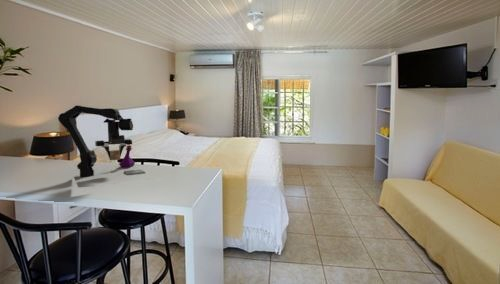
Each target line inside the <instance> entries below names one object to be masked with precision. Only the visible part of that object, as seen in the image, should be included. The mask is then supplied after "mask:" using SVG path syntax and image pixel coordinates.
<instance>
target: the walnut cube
mask: <svg viewBox="0 0 500 284" xmlns="http://www.w3.org/2000/svg"><path fill="white" fill-rule="evenodd" d="M109 151H110V158H109V157H108V159H109V160H110V161H120V160H121V157H120V151H119V149H118V150H117V149H115V150H114V149H113V150H109Z"/></svg>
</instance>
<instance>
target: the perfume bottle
mask: <svg viewBox="0 0 500 284" xmlns="http://www.w3.org/2000/svg"><path fill="white" fill-rule="evenodd" d="M125 150H126V153H125V154H124V155H125V156H124V157H123V159H122V160H121V161H120V162H119V163H118V165H119V166H120V167H121V168H127V169H129V168H131V167H134V165H135V164H136V162H135V161H134V160H133V158H131V157H130V152H131V151H132V150H133V148H132V145H126V148H125Z"/></svg>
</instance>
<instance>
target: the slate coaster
mask: <svg viewBox="0 0 500 284" xmlns="http://www.w3.org/2000/svg"><path fill="white" fill-rule="evenodd" d="M123 173H124V174H125V175H127V176H131V175H132V176H133V175H141V174H146V171H145V170H143V169H131V170H124V171H123Z"/></svg>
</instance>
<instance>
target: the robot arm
mask: <svg viewBox="0 0 500 284" xmlns="http://www.w3.org/2000/svg"><path fill="white" fill-rule="evenodd" d="M81 114H87V115H88V114H89V115H94V116H95V115H97V116H101V117H104V118H106V119H105V120H104V121H103V123H104V124H105V123H106V124H107V135H108V137H107V138H108V141H104V140H96V141H95V143H94V146H95V147H101V148H104V150H105V152H106V153H107V156H108V159H109V158H110V151H111V150H110V146H109V145H118V150H119V151H120V158H121V156H122V152H123V151H124V148H125V147H127V146H131V145H133V140H132V139H130V138H125V135H124V134H122V135H120V131H133V129H134V124H133V120H132V118H123V116H122V115H121V114H120V111H119V109H118V108H97V107H91V106H83V105H74V106H73V107H72V108H70V109H68V110H66V111H65V112H62V113H59V115H58V117H57V120H58V121H59V123H60V124H61V125H62V127H64V128H65V129H66V130H67V131H68V133H69V136H70V137H71V138H72V141H73V143H74V145H75V147H76V149H77V150H78V152H79V159H80V162H79V163H78V164H77V166H76V167H77V169H78V170H79V178H89V177H94V176H95V170H94V169H93V167H94V166H95V164H96V163H97V160H98V159H97V157H98V155H96V153H95V150H90V149H89V147H88V146H87V144H86V142H85V140H84V138H83V136H82V134H81V133H80V131H79V129H78V127H77V118H78V117H79V116H80V115H81Z"/></svg>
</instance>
